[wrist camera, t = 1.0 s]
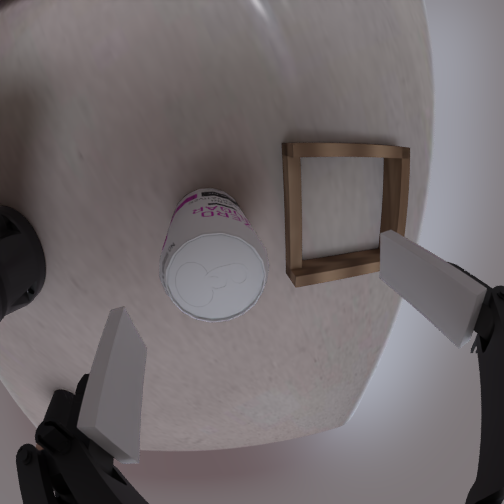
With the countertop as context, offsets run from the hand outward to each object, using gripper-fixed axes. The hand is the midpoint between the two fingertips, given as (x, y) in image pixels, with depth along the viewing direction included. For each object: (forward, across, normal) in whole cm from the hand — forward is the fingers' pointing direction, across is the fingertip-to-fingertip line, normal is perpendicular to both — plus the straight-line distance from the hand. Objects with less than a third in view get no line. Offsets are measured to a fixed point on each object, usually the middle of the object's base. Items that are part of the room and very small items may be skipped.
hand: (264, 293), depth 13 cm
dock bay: (+21, +16, -5) cm, 26 cm away
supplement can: (+21, -2, -2) cm, 21 cm away
